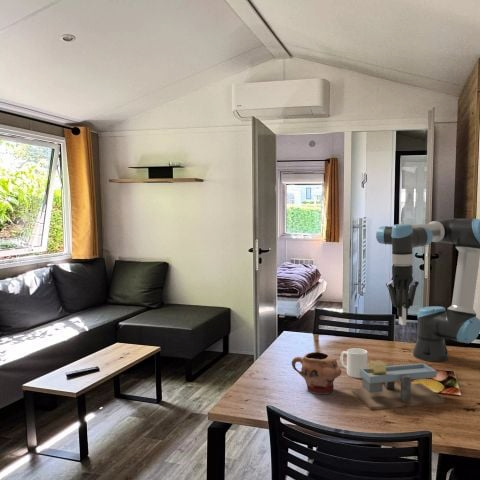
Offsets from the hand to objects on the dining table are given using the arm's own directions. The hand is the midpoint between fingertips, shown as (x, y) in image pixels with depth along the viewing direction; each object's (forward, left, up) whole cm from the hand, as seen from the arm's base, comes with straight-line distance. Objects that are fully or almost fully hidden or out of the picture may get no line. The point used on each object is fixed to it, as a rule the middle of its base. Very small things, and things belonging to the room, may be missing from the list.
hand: (402, 324), depth 186 cm
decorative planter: (+34, -3, -25) cm, 42 cm away
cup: (+13, -16, -25) cm, 32 cm away
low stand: (+7, +10, -24) cm, 27 cm away
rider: (+16, +10, -15) cm, 24 cm away
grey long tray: (+7, +10, -20) cm, 24 cm away
